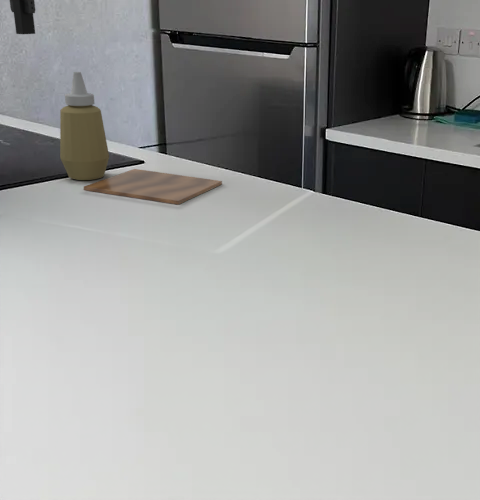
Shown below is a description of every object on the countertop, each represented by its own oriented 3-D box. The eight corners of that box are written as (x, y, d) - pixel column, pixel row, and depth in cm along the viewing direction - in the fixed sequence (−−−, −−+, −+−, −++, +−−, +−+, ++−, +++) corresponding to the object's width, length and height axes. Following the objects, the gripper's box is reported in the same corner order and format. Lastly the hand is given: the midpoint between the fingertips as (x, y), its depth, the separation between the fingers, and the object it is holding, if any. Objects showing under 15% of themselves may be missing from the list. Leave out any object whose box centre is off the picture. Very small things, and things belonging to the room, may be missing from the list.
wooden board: (83, 190, 113) (83, 186, 112) (134, 171, 125) (134, 168, 125) (178, 204, 107) (178, 201, 107) (222, 184, 120) (222, 180, 120)
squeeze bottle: (119, 173, 124) (111, 71, 117) (96, 184, 116) (86, 76, 110) (78, 169, 125) (68, 68, 118) (52, 180, 117) (40, 73, 111)
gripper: (58, -120, 108) (73, 35, 117) (-7, -120, 112) (12, 30, 120) (22, -129, 102) (41, 37, 110) (-46, -128, 105) (-23, 32, 114)
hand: (25, 33), depth 115 cm, fingers closed
